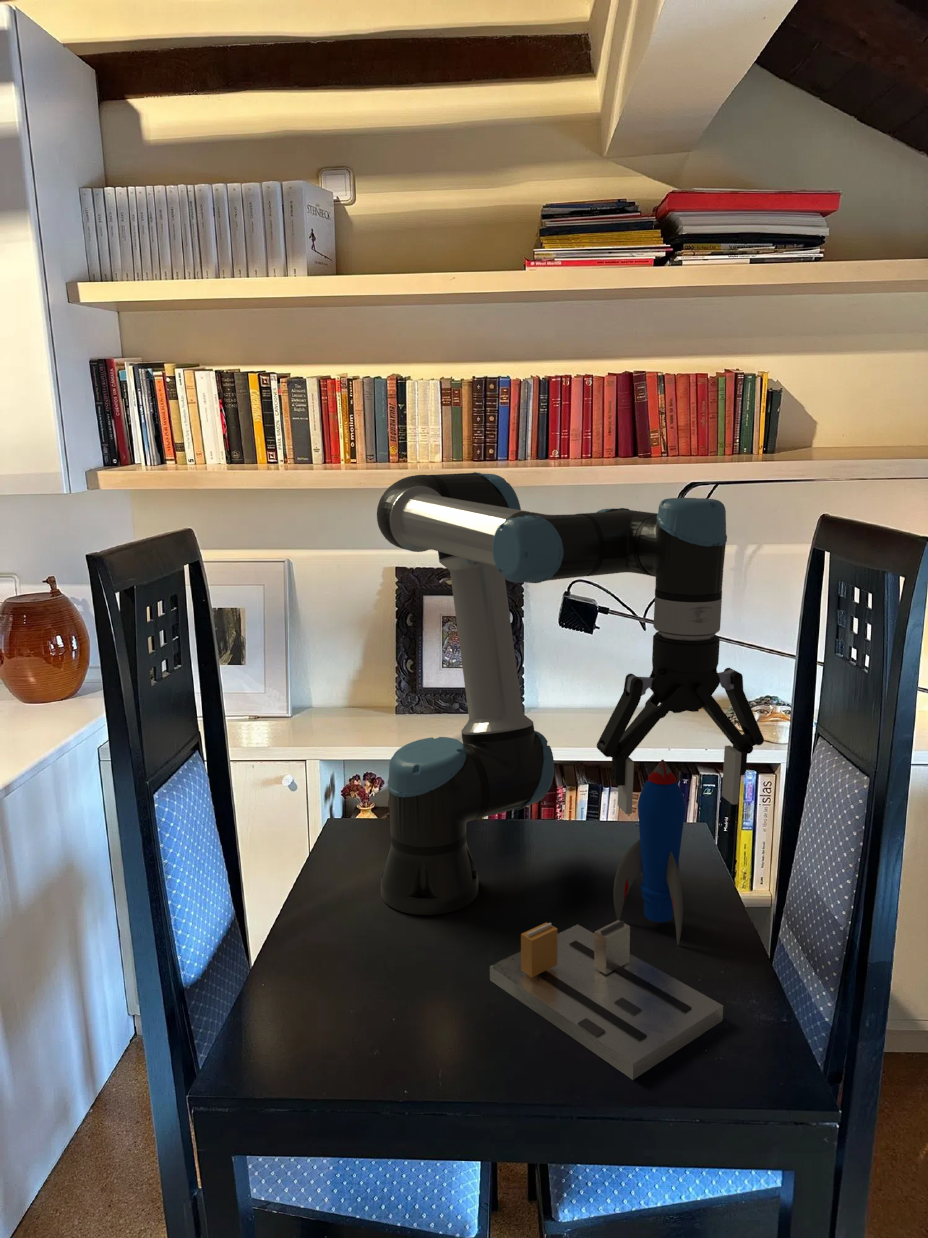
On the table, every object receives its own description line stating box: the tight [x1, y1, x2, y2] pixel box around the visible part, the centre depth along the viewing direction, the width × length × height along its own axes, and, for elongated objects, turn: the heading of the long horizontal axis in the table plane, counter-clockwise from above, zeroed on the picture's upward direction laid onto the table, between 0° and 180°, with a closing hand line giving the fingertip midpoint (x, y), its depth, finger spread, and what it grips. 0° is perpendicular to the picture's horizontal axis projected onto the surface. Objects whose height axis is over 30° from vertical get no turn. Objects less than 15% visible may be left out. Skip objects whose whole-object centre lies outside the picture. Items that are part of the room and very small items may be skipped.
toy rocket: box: [612, 759, 686, 946], centre depth 125 cm, size 11×10×25 cm
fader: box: [520, 922, 558, 977], centre depth 112 cm, size 2×4×5 cm, turn 129°
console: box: [489, 919, 724, 1081], centre depth 109 cm, size 24×16×8 cm, turn 38°
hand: (677, 805), depth 107 cm, fingers open, 13 cm apart
